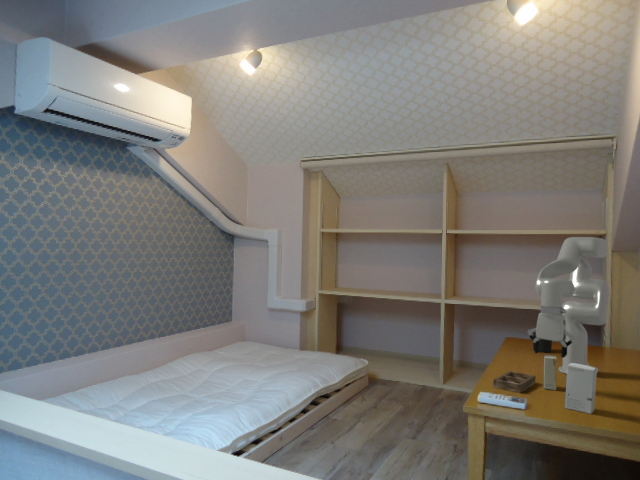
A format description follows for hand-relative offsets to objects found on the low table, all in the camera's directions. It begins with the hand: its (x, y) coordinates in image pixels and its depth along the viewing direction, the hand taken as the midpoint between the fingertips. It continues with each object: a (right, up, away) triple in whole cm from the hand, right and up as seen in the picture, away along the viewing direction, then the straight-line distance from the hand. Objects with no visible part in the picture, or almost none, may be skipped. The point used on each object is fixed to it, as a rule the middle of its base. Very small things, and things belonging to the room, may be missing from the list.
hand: (550, 354), depth 183 cm
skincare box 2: (-1, -13, -24) cm, 27 cm away
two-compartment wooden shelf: (-13, -13, +2) cm, 18 cm away
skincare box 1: (0, -13, 0) cm, 13 cm away
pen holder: (+29, -15, +67) cm, 75 cm away
